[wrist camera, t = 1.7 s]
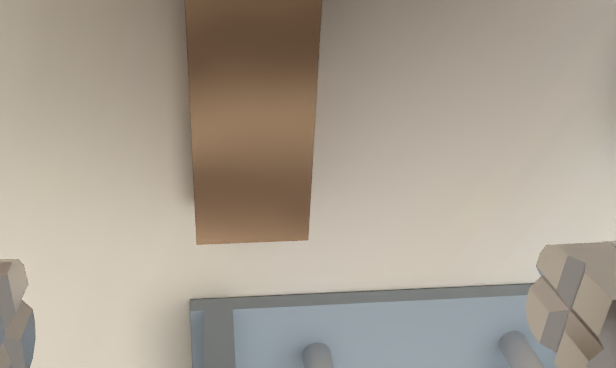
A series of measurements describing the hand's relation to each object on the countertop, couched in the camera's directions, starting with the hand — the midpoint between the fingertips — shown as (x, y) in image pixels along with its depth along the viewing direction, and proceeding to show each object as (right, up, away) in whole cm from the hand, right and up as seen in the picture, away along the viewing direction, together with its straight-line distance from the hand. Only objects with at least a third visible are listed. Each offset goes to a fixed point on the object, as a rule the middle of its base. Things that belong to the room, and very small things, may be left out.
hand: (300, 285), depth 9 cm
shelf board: (-2, +9, +16) cm, 19 cm away
